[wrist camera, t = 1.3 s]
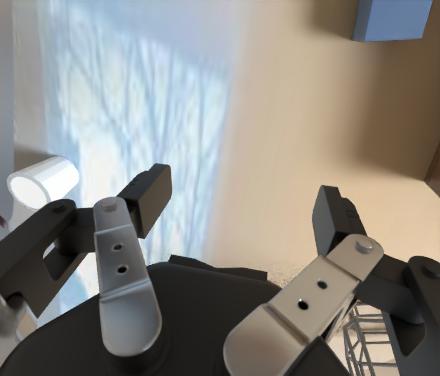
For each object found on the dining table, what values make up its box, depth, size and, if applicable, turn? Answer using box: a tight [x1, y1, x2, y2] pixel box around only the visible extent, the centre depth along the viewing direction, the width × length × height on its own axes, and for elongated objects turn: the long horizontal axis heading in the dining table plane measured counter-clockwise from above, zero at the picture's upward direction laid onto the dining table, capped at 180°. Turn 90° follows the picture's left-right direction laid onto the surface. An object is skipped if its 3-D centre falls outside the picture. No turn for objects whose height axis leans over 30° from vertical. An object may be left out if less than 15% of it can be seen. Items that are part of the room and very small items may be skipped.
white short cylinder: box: [7, 156, 79, 212], centre depth 39 cm, size 7×7×7 cm
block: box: [352, 0, 433, 42], centre depth 22 cm, size 4×4×4 cm
